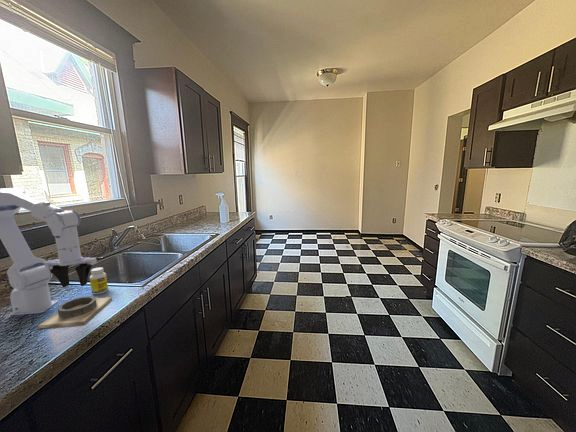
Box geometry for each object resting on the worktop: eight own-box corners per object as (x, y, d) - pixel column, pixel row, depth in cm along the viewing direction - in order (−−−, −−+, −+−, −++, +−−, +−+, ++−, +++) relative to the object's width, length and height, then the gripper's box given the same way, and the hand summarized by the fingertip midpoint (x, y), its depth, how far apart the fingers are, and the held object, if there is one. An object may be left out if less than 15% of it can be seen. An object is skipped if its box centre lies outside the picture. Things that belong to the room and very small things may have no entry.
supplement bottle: (99, 295, 98) (96, 272, 96) (88, 294, 99) (84, 271, 97) (111, 289, 103) (108, 266, 102) (100, 288, 104) (97, 266, 103)
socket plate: (38, 328, 77) (36, 318, 76) (74, 302, 93) (72, 293, 92) (84, 324, 79) (82, 314, 78) (112, 299, 94) (110, 291, 94)
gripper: (33, 252, 77) (41, 292, 79) (84, 249, 79) (91, 288, 81) (51, 245, 84) (58, 283, 86) (98, 243, 86) (103, 280, 88)
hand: (75, 285), depth 84 cm, fingers open, 5 cm apart
